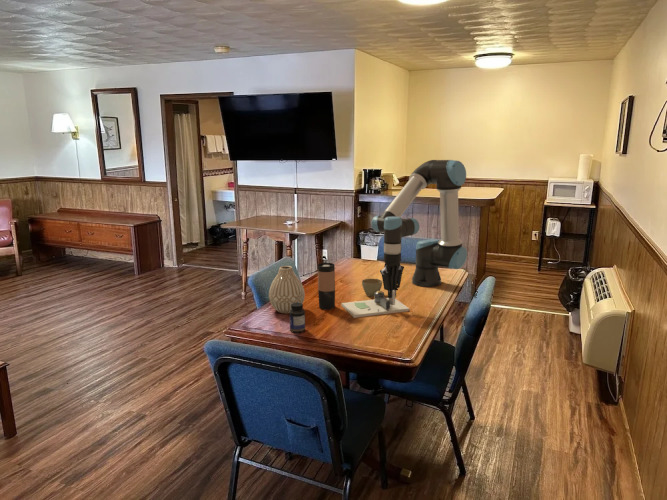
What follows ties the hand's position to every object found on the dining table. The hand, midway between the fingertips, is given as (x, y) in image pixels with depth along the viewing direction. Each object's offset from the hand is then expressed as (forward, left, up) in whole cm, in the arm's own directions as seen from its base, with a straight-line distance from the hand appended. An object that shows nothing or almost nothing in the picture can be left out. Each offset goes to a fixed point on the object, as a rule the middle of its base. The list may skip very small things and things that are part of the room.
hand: (391, 304), depth 214 cm
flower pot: (0, -24, -3) cm, 24 cm away
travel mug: (+26, -14, -3) cm, 30 cm away
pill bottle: (+45, +9, -3) cm, 46 cm away
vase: (+44, -16, -3) cm, 47 cm away
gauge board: (+6, -5, -3) cm, 8 cm away
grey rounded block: (+3, -3, -1) cm, 5 cm away
